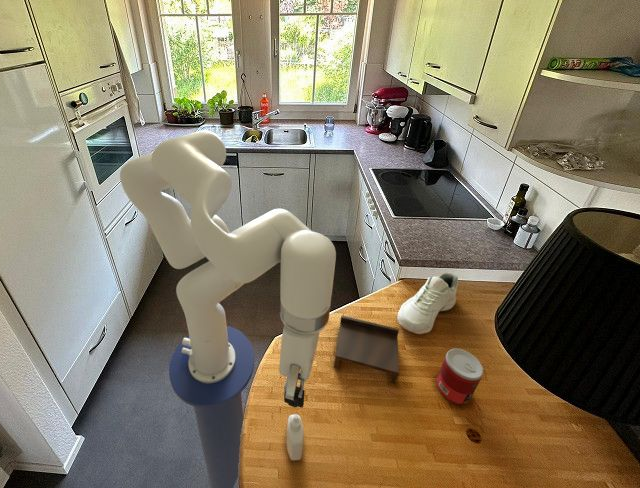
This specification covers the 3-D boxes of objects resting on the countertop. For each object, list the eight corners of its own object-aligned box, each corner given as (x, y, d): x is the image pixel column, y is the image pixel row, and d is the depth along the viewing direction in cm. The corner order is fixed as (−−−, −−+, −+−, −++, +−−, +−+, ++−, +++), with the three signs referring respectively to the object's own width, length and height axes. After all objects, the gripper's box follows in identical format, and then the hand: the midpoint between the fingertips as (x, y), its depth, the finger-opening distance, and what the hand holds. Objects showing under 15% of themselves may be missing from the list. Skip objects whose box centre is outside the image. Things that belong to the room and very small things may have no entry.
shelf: (333, 367, 88) (336, 350, 85) (339, 331, 98) (341, 315, 95) (395, 384, 84) (400, 368, 81) (394, 345, 94) (398, 328, 91)
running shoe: (385, 324, 100) (392, 292, 94) (428, 283, 116) (437, 253, 109) (417, 348, 93) (428, 315, 87) (458, 300, 108) (470, 270, 102)
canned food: (469, 411, 78) (483, 385, 73) (434, 394, 82) (444, 368, 76) (470, 384, 84) (483, 357, 79) (437, 369, 87) (447, 343, 82)
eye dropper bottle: (307, 437, 73) (310, 408, 68) (299, 465, 69) (301, 436, 63) (290, 428, 75) (291, 399, 69) (280, 454, 71) (280, 425, 65)
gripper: (294, 265, 57) (291, 330, 65) (263, 350, 43) (265, 420, 51) (336, 274, 55) (328, 339, 63) (319, 366, 41) (312, 436, 49)
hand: (300, 375), depth 57 cm, fingers open, 9 cm apart
